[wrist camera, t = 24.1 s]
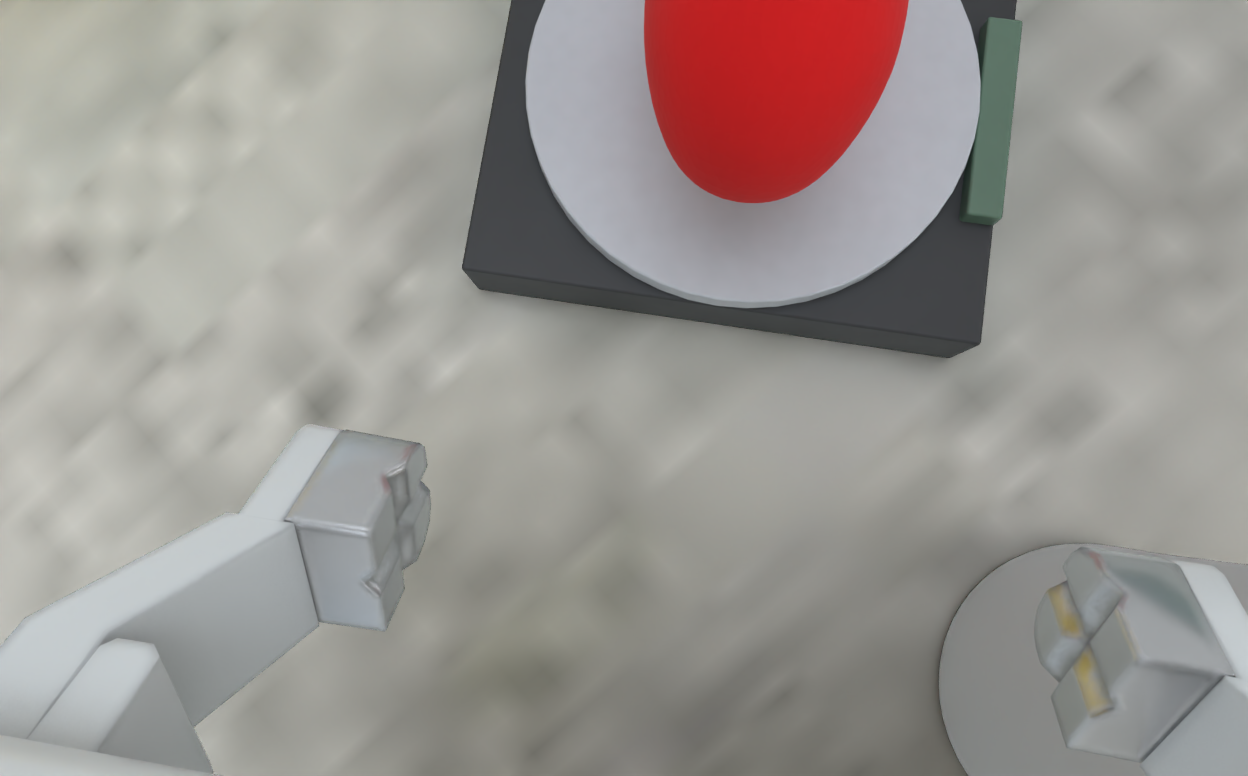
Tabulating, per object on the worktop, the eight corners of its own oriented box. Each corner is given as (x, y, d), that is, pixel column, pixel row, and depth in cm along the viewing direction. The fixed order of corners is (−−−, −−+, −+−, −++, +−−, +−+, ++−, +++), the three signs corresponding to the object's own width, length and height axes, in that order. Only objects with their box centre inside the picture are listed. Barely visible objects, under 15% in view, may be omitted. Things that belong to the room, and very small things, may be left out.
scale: (992, -27, 27) (1038, -96, 24) (950, 359, 25) (993, 339, 22) (545, -81, 28) (531, -156, 24) (478, 289, 26) (454, 261, 23)
